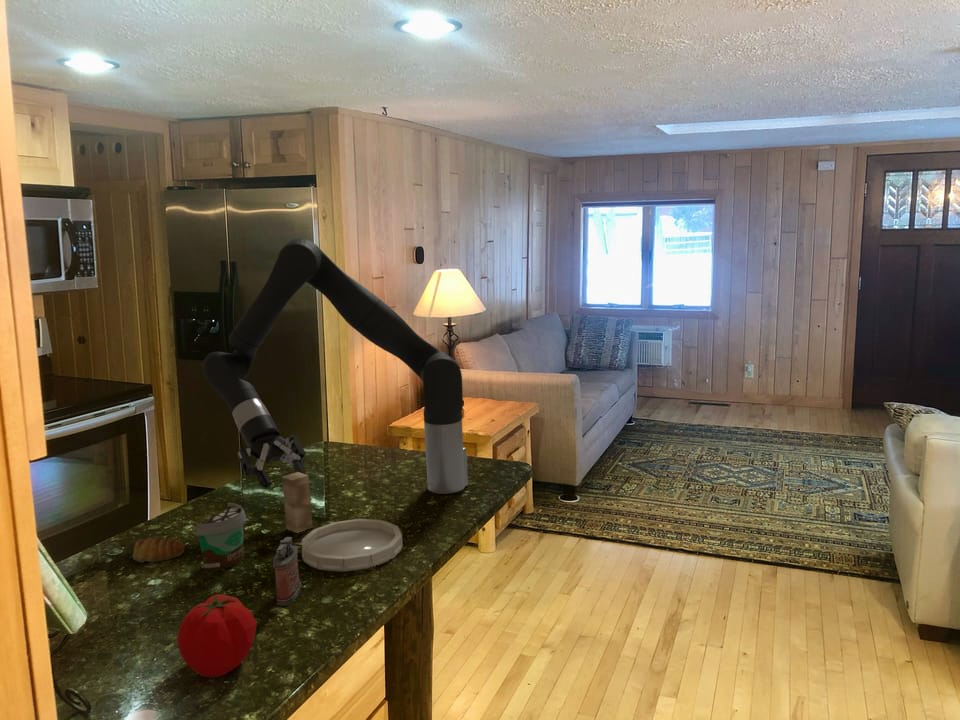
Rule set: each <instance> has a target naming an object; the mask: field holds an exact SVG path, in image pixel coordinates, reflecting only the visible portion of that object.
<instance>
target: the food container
mask: <svg viewBox="0 0 960 720" xmlns="http://www.w3.org/2000/svg"><path fill="white" fill-rule="evenodd" d="M226 505H227V508H225V509H224V510H222V511H221V512H219V513H216V514H214V515H212V516H211V517H210V519H208V520H207V521H206V522H205V523H196V527H195V528H196V530H195V535H196V536H198V541H199V547H200V551H201V556H202V563H203V569H204V572H216V571H215V570H219V571H222V570H221V569H224V570H226V569H225V568H228V569H230V568H229V567H231V568H233V567H236V566H238V565H239V564H241V562H242V561H243V560H244V558H243V557H244V524H245V522H246V521H247V516H246V512H245V510H244V509H243V507H242V506H241V505H239V504H238V503H232V502H227V504H226ZM238 563H239V564H238ZM232 566H233V567H232ZM213 570H214V571H213Z"/></svg>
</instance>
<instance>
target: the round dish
mask: <svg viewBox="0 0 960 720" xmlns="http://www.w3.org/2000/svg"><path fill="white" fill-rule="evenodd" d="M301 547H302V548H301V558H302V560H303V562H304V563H305V564H306V565H308V566H309V567H312V568H314V569H317V570H321V571H328V572H343V573H344V572H350V571H351V572H352V571H359V570H360V571H361V570H365V569H370V567H371V568H374V567H377V566H379V565H382V564H385V563H387V562H388V561H390V559H391V560H392V559H394V558H395V557H397V556H398V555H399V554H400V552H401V551H402V549H403V547H404V545H403V534H402V531H401V529H400V528H399V526H398V525H396V524H393V523H391V522H388V521H386V520H384V519H383V520H382V519H372V518H371V519H370V518H356V519H355V518H354V519H347V520H342V521H341V520H340V521H339V520H338V521H334V522H331V523H328V524H325V525H321V526H320V527H317V528H314V529H313V530H312V529H311V531H310V532H309V533H307V534H306V535H305V536H304V537H302V539H301ZM398 553H399V554H398ZM397 554H398V555H397ZM396 555H397V556H396ZM376 565H377V566H376ZM373 566H374V567H373Z"/></svg>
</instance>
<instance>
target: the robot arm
mask: <svg viewBox="0 0 960 720" xmlns="http://www.w3.org/2000/svg"><path fill="white" fill-rule="evenodd" d="M305 283H306V284H308V285H310V286H311V287H313V288H315V289H316V290H317V291H318V292H320V293H321V294H322V295H323V296H324V297H325V298H326V299H327V301H329V303H331V305H332V306H333V308H335V310H336V311H337V312H338V314H339V315H340V316H341V317H342V318H343V319H344V321H345V322H346V323H347V324H348V325H349V326H350V327H352V328H353V329H355V331H356V332H358V333H359V334H360V335H362V336H363V337H364V338H365V339H367V340H368V341H369V342H371V343H372V344H374V345H375V346H377V347H379V348H380V349H382V350H384V351H385V352H386V353H390V354H391V355H392V356H394V357H395V358H396V357H397V359H399V360H400V361H401V362H403V363H404V364H405V365H406V366H407V367H409V369H410V370H411V371H413V372H414V373H415V374H416V376H418V377H419V379H420V380H421V381H422V383H423V385H422V386H423V400H424V401H423V402H424V404H423V405H424V407H423V420H424V421H423V426H424V428H423V429H424V443H425V444H424V445H425V465H426V481H427V490H428V491H429V492H431V493H433V494H440V495H442V494H443V495H444V494H445V495H448V494H454V493H459V492H461V491H463V490H464V489H465V487H467V486H468V485H469V480H468V458H467V456H468V455H467V448H466V447H465V446H464V438H463V437H464V435H463V415H462V414H463V407H464V406H463V403H464V400H463V396H464V395H463V374H462V369H461V367H460V365H459V364H458V363H457V361H455V359H453V358H452V356H451V355H448V354H446V353H445V352H443V351H442V350H440V349H439V348H436V347H435V346H434V345H432V344H431V343H429V342H428V341H426V340H425V339H424V338H422V337H421V336H420V335H419V334H418V333H416V332H415V331H414V329H412V327H411V326H410V325H409V323H407V322H406V321H405V320H404V319H403V318H402V317H401V316H400V315H399V314H398V313H397V312H396V311H395V310H394V309H392V308H391V307H390V306H389V305H388V304H387V303H385V302H384V301H383V300H382V299H380V298H379V297H378V296H376V295H375V294H374V293H373V292H371V291H370V290H369V289H367V288H366V286H363V285H362V284H361V283H360V282H358V281H357V280H355V279H354V278H352V277H351V276H350V275H348V274H347V273H346V272H344V271H343V270H342V269H341V268H340V267H339V266H338V265H337V264H336V263H335V262H334V261H333V260H331V258H330V257H329V256H328V255H326V253H325V252H324V251H323V250H322V249H321V248H320V247H319V246H318V245H317V244H316V243H315V242H313V241H312V240H309V239H307V238H301V237H300V238H294V239H292V240H290V241H288V242H287V243H286V244H285V245H283V247H282V248H281V249H280V251H279V253H278V255H277V259H276V261H275V264H274V266H273V268H272V270H271V272H270V274H269V277H268V279H267V280H266V283H265V284H264V286H263V287H262V289H261V290H260V292H259V293H258V295H257V296H256V298H255V299H254V300H253V302H251V304H250V305H249V307H248V308H247V309H246V311H245V312H244V313H243V315H242V316H241V318H240V319H239V320H238V322H237V324H236V325H235V327H234V328H233V329H232V330H231V333H230V335H228V343H229V344H230V346H231V347H232V348H233V349H234V350H233V352H232V353H230V352H225V351H224V352H223V351H213V352H211V353H208V354H207V355H206V357H205V358H204V360H203V363H202V369H203V370H202V371H203V374H204V377H205V379H206V380H207V382H208V383H209V384H210V385H211V387H212V388H213V389H214V390H215V391H216V392H217V394H218V395H219V396H220V397H221V398H222V399H223V400H224V401H225V403H226V405H227V407H228V408H229V411H230V413H231V414H232V416H233V419H234V423H235V425H236V427H237V429H238V431H239V433H240V435H241V436H242V438H243V441H244V442H245V445H246V447H248V448H246V447H244V446H241V447H240V448H239V451H238V452H237V458H238V461H239V463H240V465H241V468H242V470H243V471H244V474H245V476H247V477H249V476H255V477H256V479H257V480H258V482H259V484H260V486H261V487H262V488H264V489H265V490H268V489H270V488H271V485H272V482H271V479H270V478H269V476H268V474H267V472H266V470H265V469H264V464H265V463H266V464H271V463H272V462H277V461H282V462H284V463H288V464H290V465H292V468H293V470H294V471H295V472H294V473H296V472H300V473H303V474H305V475H306V473H307V470H306V467H305V466H304V464H303V461H304V458H305V457H306V456H307V452H306V451H305V449H304V448H303V446H302V444H301V443H300V441H299V440H298V438H297V436H296V435H295V434H291V435H290V437H287V438H285V439H284V438H283V437H282V436H281V434H280V431H279V429H278V427H277V425H276V423H275V422H274V419H273V418H272V416H271V414H270V412H269V411H268V409H267V407H266V406H265V404H264V403H263V401H262V400H261V398H260V396H259V394H258V392H257V390H256V389H255V386H254V385H252V384H251V383H250V382H249V381H247V380H245V379H246V378H248V375H249V374H250V372H251V370H252V368H253V367H252V366H253V363H254V361H255V359H256V354H257V351H258V349H259V348H260V346H261V345H262V344H263V342H264V340H265V339H266V338H267V336H268V335H269V334H270V332H271V330H272V329H273V327H274V325H275V324H276V322H277V320H278V318H279V316H280V314H282V311H283V310H284V308H285V307H286V305H287V304H288V303H289V302H290V300H291V299H292V298H293V296H294V295H296V293H297V292H298V291H299V290H300V289H301V288H302V287H303V286H304V285H305ZM250 456H252V457H254V458H256V459H257V460H256V462H255V466H254V465H253V463H252V460H251V458H250ZM263 469H264V470H263Z"/></svg>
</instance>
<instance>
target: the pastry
mask: <svg viewBox="0 0 960 720" xmlns="http://www.w3.org/2000/svg"><path fill="white" fill-rule="evenodd" d="M184 552H185V544H184V543H182V542H181V541H178V540H176V539H170V538H162V537H159V536H158V537H155V538H154V537H148V538H147V539H143V538H140V539H138V540H137V541H136V542H135V543H134V548H133V554H132V559H133V561H136V562H138V563H144V562H148V563H155V562H161V561H165V560H166V561H167V560H171V559H175V558H177V557H181V555H183V553H184Z"/></svg>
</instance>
